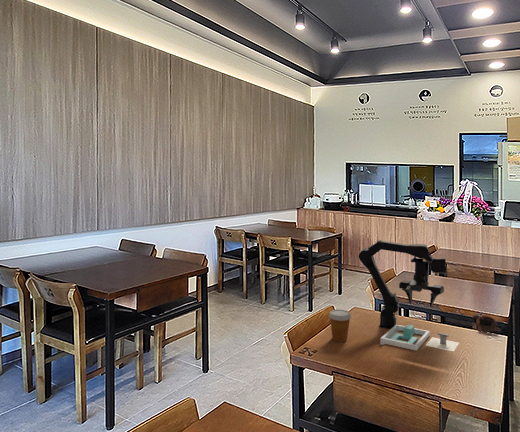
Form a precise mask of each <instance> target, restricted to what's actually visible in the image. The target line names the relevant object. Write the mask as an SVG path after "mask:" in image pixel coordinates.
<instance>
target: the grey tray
mask: <svg viewBox="0 0 520 432" xmlns="http://www.w3.org/2000/svg"><path fill="white" fill-rule="evenodd" d="M405 326H406V325H400V324H396V325H395V326H394V327H393V328H391V329H388V331H387V332H386V333H384V335H382V336H381V337H380V345H381V346H385V344H386V345H390V346H395V347H397V348H398V347H399V348H403V349H408V350H412V351H415V352H416V351H418V350H419V349H420V348H421V346H422V345H423V344H424V343H425V341H426V340H427V339H428V338H429V337H430V335H431V334H430V333H431V331H430V330H425V329H421V328H416V327H414V335H415V334H417V335H421V337H420V338H419V339H418V340H417V341H416V342H415V343H414V344H410V343H406V342H401V341H397V340H392V339H391V338H392V337H393V336H394V335H395V334H396V333H399V331H402V332H403V330H404V327H405Z"/></svg>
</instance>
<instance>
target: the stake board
mask: <svg viewBox="0 0 520 432" xmlns="http://www.w3.org/2000/svg"><path fill="white" fill-rule="evenodd" d="M449 335H450V334H448V333H443V332H438V333H437V336H439V338H438V337H433V336H432V337H431V338H430V340H429V341H427V343H426V344H425V346H426V347H431V348H436V349H440V350H443V351H444V350H445V351H450V352H454V353H455V350H456V349H457V348H458V346H459V344H460V342H457V341H452V340H449V339H447V338H449Z"/></svg>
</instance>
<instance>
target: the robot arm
mask: <svg viewBox="0 0 520 432" xmlns="http://www.w3.org/2000/svg"><path fill="white" fill-rule="evenodd" d="M381 250H382V251H389V252H395V253H401V254H407V255H410V256H412V258H411V259H410V263H414V274H413V279H412V280H405V279H403V280H402V281H400V282H399V285H398V288H399V289H401V290H402V291H404V292H405V294H406V295H407V299H408V303H409V304H410V305H412V303H413V291H414V292H419V293H421V292H422V290H424V291H430V292H431V293H430V301H429V308H433V305H434V302H435V301H436V298H437V297H438V296H439V295H442V294H443V293H444V292H445V287H444V286H443V285H440V284H434V285H432V286H430V285H429V284H430V282H429V275H430V273H429V271H430V272H432V274H445V275H446V273H447V263H446V258H445V257H442V258H438V257H436V258H435V257H433V255H431V254H432V253H430V252H429V250H430V249H429V247H428V246H427V245H426V244H424V243H412V244H406V243H400V242H392V241H387V240H386V241H385V240H383V239H381V240H380V239H379V240H378V241H377V242H375V243H374V244H372V245H371V246H369V247H368V248H366V247H365V248H363V249H362V250H361V251H360V252H359V254H358V258H359V259H358V260H359V261H360V262H361V263H362V265H363V266H364V267H365V268H366V269H367V270H368V272H369V273H370V274H369V275H370V276H371V277H372V279H373V281H374V282H375V283H374V284H375V285H376V286H377V288H378V290H379V293H380V294H381V298H382V301H383V304H384V305H383V306H382V308H381V309H380V314H379V316H380V317H379V325H378V328H382V329H387V330H390V329H391V328H393V327H394V326H395V325H397V317H396V313H397V312H398V310H399V307H400V299H399V298H398V297H397V294H396V292H394V293H393V292H392V291H390V289H389V287H388V285H387V283H386V282H385V279H384V278H383V275H382V274H381V272H380V271H379V268H378V266H377V263H376V260H375V257H374V256H375V255H376V254H377V253H379V252H380V251H381Z"/></svg>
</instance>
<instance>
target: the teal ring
mask: <svg viewBox="0 0 520 432" xmlns="http://www.w3.org/2000/svg"><path fill="white" fill-rule="evenodd" d="M404 326H405V327H404V330H403V331H402V334H401V333H399V332H397V333H396V334H395V335H394V336H393V337H392V338H391V339H392V340H397V341H401V342H406V343H410V344H416V343H417V342H418V337H416V336H414V335H415V333H414V328H415V325H412V324H406V325H404ZM402 339H403V340H402ZM406 340H408V341H406Z"/></svg>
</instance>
